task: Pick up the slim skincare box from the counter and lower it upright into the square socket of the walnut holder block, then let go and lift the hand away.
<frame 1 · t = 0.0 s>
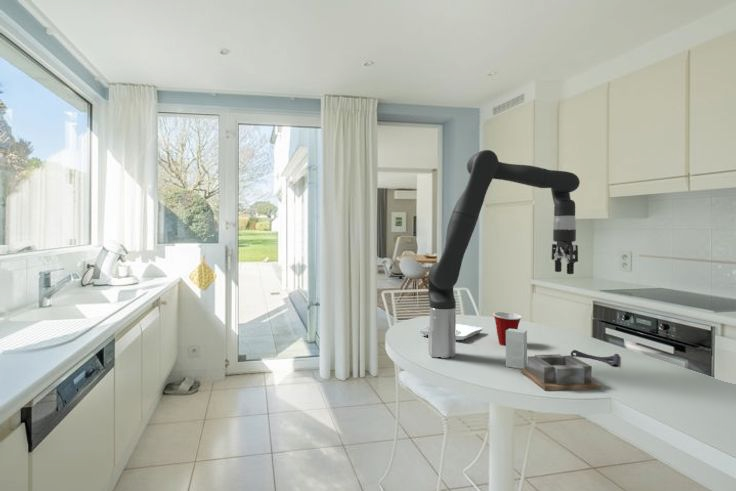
hand: (564, 272, 159), 29 cm above the table, tool pointing down, fingers open, 8 cm apart
skincare box: (516, 367, 143), on the table
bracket: (594, 360, 152), on the table
holder: (558, 380, 130), on the table
plastic cup: (507, 344, 172), on the table
salad plate: (451, 336, 187), on the table
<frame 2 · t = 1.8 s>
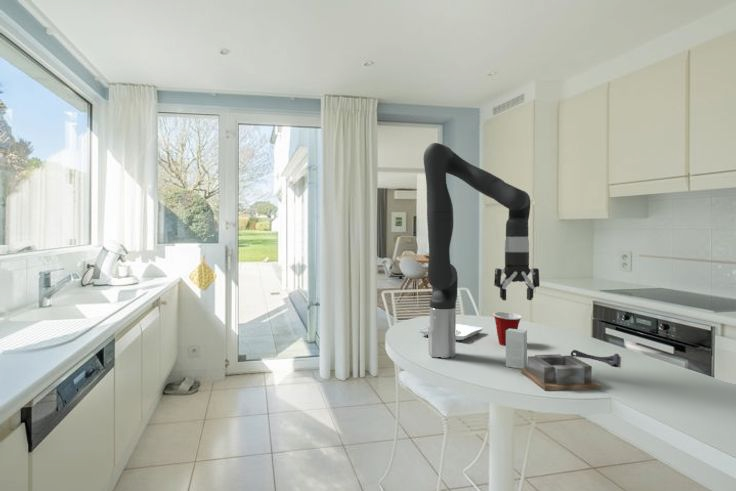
hand: (516, 300, 143), 22 cm above the table, tool pointing down, fingers open, 8 cm apart
nothing on the table moved.
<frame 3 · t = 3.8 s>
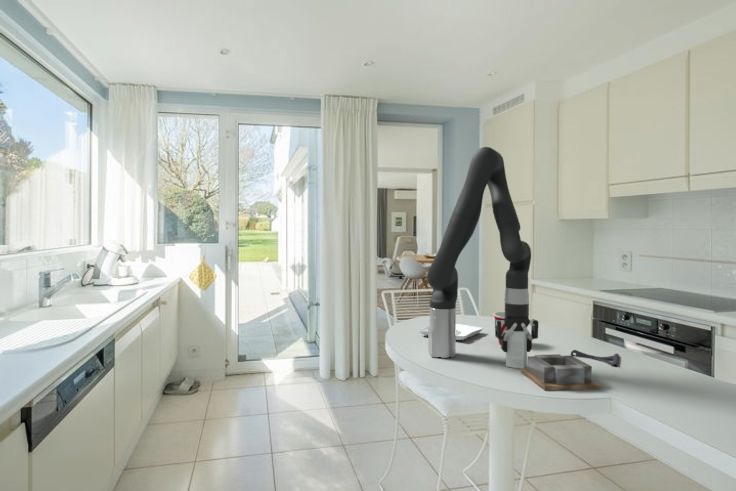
hand: (516, 351, 143), 5 cm above the table, tool pointing down, fingers closed on skincare box, 7 cm apart
skincare box: (516, 367, 143), on the table, touching gripper
everything else where it was.
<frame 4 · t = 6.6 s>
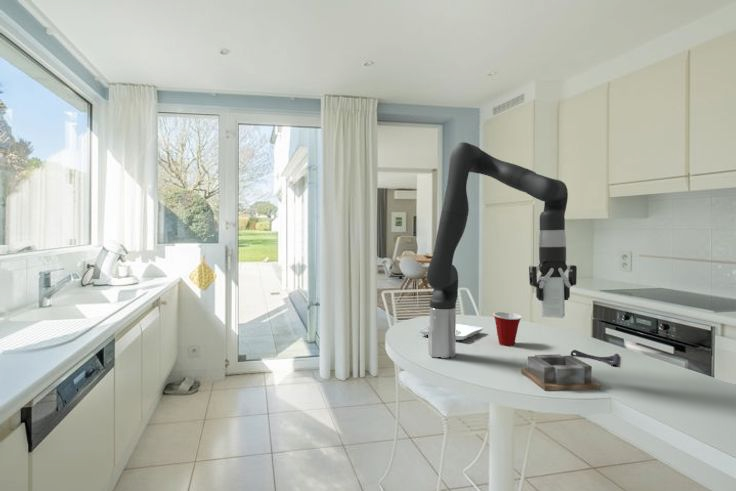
hand: (553, 300, 131), 24 cm above the table, tool pointing down, fingers closed on skincare box, 7 cm apart
skincare box: (553, 317, 131), point 18 cm above the table, touching gripper
everything else where it was.
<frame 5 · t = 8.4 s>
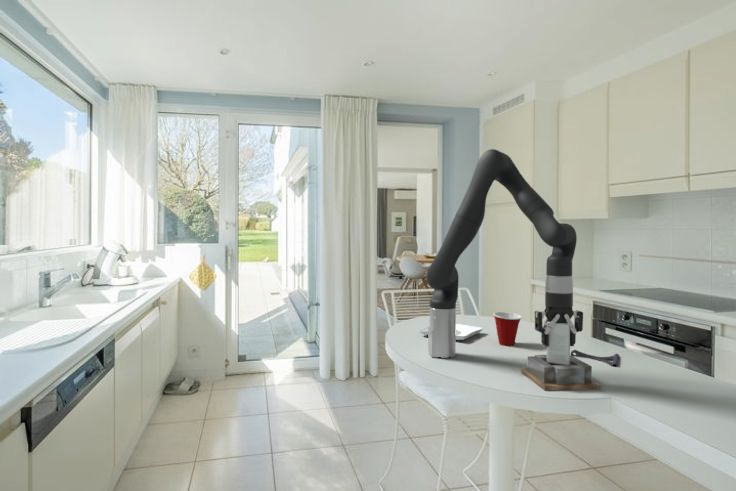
hand: (558, 345, 129), 10 cm above the table, tool pointing down, fingers closed on skincare box, 7 cm apart
skincare box: (558, 362, 130), point 5 cm above the table, touching gripper
everything else where it was.
when the fingers open (7 cm above the table, at t = 9.6 s): skincare box drops 1 cm, resting on holder.
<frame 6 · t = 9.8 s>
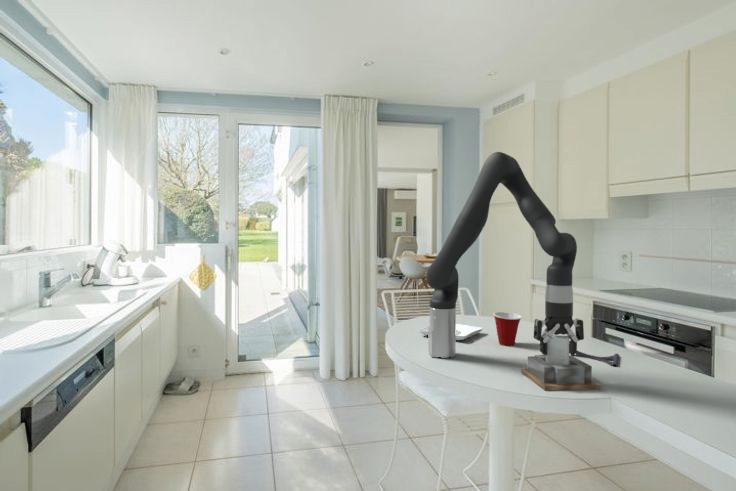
hand: (558, 354, 129), 8 cm above the table, tool pointing down, fingers open, 8 cm apart
skincare box: (557, 376, 130), point 1 cm above the table, touching holder
everything else where it was.
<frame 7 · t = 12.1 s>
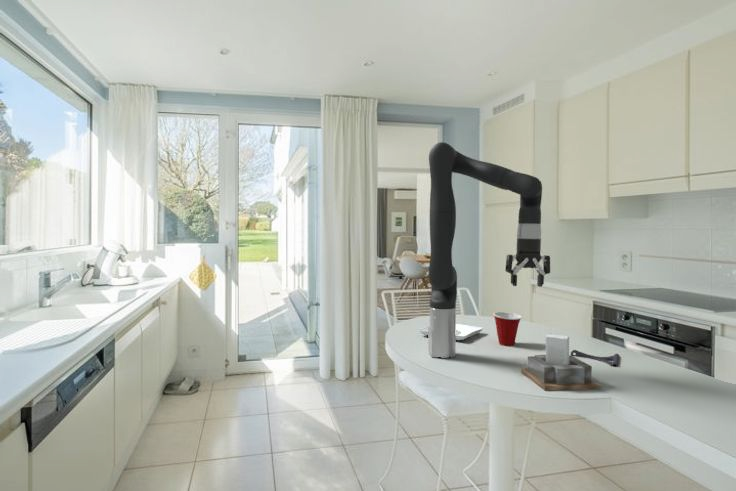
hand: (527, 286, 145), 26 cm above the table, tool pointing down, fingers open, 8 cm apart
nothing on the table moved.
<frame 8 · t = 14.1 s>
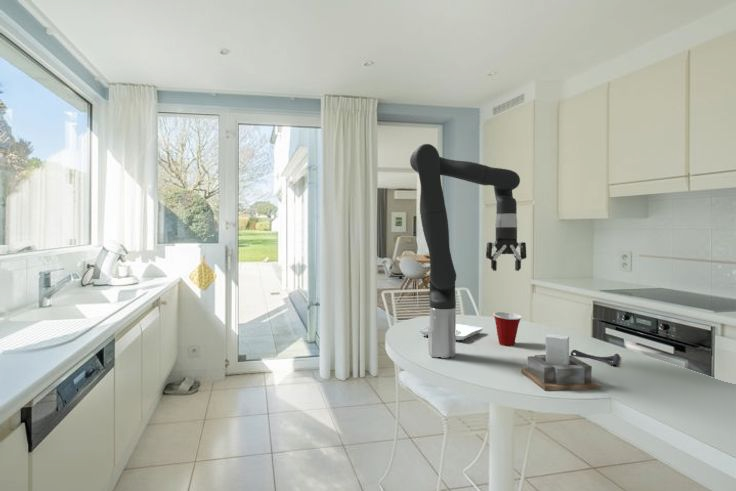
hand: (506, 270, 159), 30 cm above the table, tool pointing down, fingers open, 8 cm apart
nothing on the table moved.
at the end: skincare box 0.2 cm off-centre on the holder, point 1.0 cm above the holder's base; skincare box tilted 0°; the gripper is holding nothing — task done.
